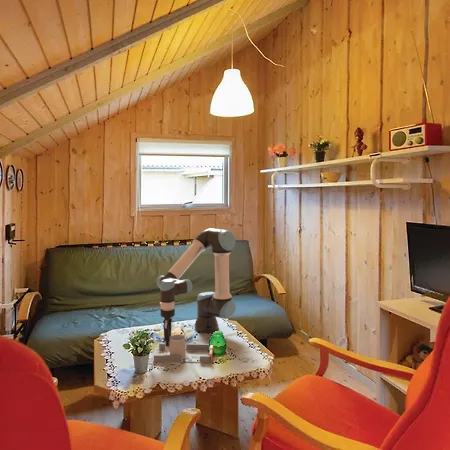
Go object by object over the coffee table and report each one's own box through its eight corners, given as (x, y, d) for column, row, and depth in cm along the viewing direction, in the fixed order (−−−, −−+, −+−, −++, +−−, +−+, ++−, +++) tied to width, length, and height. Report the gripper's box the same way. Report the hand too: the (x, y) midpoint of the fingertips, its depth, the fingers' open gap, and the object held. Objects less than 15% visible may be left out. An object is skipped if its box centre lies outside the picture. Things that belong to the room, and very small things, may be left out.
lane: (153, 361, 209) (153, 352, 209) (159, 349, 225) (159, 340, 225) (211, 363, 208) (211, 353, 208) (213, 350, 224) (213, 341, 224)
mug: (187, 359, 212) (187, 339, 211) (171, 361, 210) (171, 341, 208) (181, 350, 224) (181, 331, 222) (166, 352, 221) (166, 333, 219)
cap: (210, 348, 214) (210, 347, 214) (210, 345, 218) (210, 344, 218) (212, 349, 214) (212, 347, 214) (212, 345, 218) (212, 344, 218)
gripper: (162, 304, 221) (163, 346, 223) (158, 312, 208) (158, 356, 210) (176, 305, 221) (176, 346, 223) (172, 312, 208) (172, 356, 210)
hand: (167, 351), depth 217 cm, fingers closed
